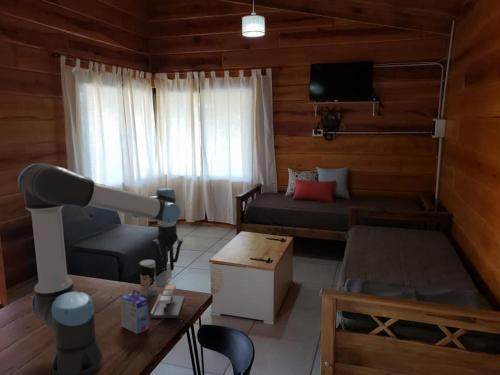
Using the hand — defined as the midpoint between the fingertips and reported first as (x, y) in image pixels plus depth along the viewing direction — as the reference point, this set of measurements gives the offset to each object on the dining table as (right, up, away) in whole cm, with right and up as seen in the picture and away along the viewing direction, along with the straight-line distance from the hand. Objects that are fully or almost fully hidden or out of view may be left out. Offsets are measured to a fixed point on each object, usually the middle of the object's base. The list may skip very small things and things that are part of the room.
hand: (169, 277), depth 164 cm
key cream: (0, -8, -9) cm, 12 cm away
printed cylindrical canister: (-12, -10, +10) cm, 18 cm away
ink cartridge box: (-9, -15, -18) cm, 25 cm away
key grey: (0, -7, -4) cm, 8 cm away
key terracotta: (0, -6, +1) cm, 6 cm away
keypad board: (0, -12, -3) cm, 12 cm away
